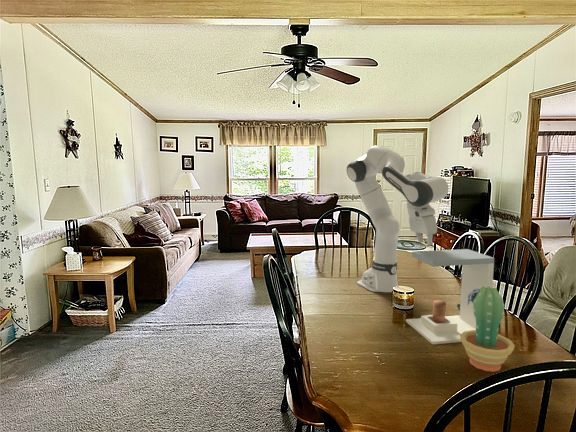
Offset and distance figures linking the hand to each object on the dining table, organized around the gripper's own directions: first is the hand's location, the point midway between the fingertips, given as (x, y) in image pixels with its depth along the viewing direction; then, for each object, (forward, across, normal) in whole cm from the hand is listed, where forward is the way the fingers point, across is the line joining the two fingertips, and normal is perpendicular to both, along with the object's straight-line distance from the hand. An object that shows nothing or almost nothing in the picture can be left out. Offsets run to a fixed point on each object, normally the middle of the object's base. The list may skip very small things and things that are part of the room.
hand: (425, 243), depth 156 cm
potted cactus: (+35, +39, -3) cm, 52 cm away
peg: (+31, +13, -6) cm, 34 cm away
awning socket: (+32, +14, -4) cm, 35 cm away
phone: (+35, -3, +14) cm, 38 cm away
